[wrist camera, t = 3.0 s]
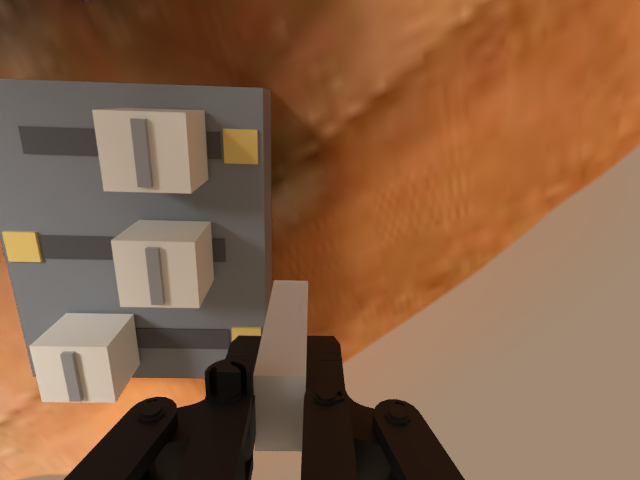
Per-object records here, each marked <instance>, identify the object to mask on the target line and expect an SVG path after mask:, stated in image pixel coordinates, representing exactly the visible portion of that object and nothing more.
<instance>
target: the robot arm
mask: <svg viewBox="0 0 640 480" xmlns="http://www.w3.org/2000/svg"><path fill="white" fill-rule="evenodd" d="M307 318H308V281H295V280H274V283H273V287H272V292H271V296H270V301H269V306H268V310H267V315H266V319H265V324H264V328H263V333H262V336H244V335H239V336H238V337H237V338H236V339H234V340H233V341H232V342H231V343H230V346H229V349H228V353H227V355H226V358H225V359H223V360H220V361H217V362H214V363H213V364H211V365H210V366H208V368H207V369H206V370H205V387H206V397H205V399H204V400H203V401H200V402H198V403H196V404H192V405H188V406H184V407H179V408H177V406H176V404H175V402H174V401H173V400H171V399H169V398H166V397H154V398H149V399H146V400H143V401H141V402H139V403H137V404H136V405H135V406H133V407H132V408H131V409H130V410H129V411H128V412H127V413H126V414H125V415H124V416H123V417H122V418H121V419H120V421H119V422H118V423H117V424H116V425H115V426H114V427H113V428H112V429H111V430H110V431H109V432H108V433H107V434H106V435H105V436H104V438H103V439H102V440H101V441H100V442H99V443H98V444H97V445H96V446H95V447H94V448H93V449H92V450H91V451H90V452H89V453H88V454H87V456H86V457H85V458H84V459H83V460H82V461H81V462H80V463H79V464H78V465H77V466H76V467H75V468H74V469H73V470H72V471H71V472H70V474H69V475H68V476H67V477H66V478H65V479H64V480H251V476H252V470H253V449H254V443H255V451H302V464H301V480H465V479H464V478H463V476H462V475H461V474H460V472H459V470H458V469H457V467H456V466H455V464H454V463H453V462H452V460H451V458H450V457H449V456H448V454H447V453H446V451H445V450H444V448H443V447H442V445H441V444H440V442H439V441H438V439H437V438H436V436H435V435H434V433H433V432H432V430H431V429H430V427H429V426H428V424H427V423H426V421H425V420H424V418H423V417H422V415H421V414H420V413H419V411H418V410H417V409H416V408H415V407H414V406H412V405H411V404H409V403H407V402H405V401H401V400H397V399H395V400H394V399H393V400H391V399H390V400H385V401H382V402H380V403H379V404H378V405H377V406H376V407H375V409H373V408H369V407H365V406H363V405H360V404H358V403H356V402H354V401H353V400H352V399H351V398H350V397H349V396H348V395H347V393H346V390H345V384H344V375H343V366H342V357H341V348H340V344H339V342H338V341H337V340H336V339H335V337H334V336H307Z"/></svg>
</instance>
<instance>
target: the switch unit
mask: <svg viewBox="0 0 640 480" xmlns="http://www.w3.org/2000/svg"><path fill="white" fill-rule="evenodd" d="M113 108H147V109H177V110H205V128H206V145H207V163H208V180H207V181H206V182H205V183H203V184H202V185H201V186H200V187H199V188H197V189H196V190H195V191H194V192H193V193H191V194H187V193H148V192H109V191H104V190H103V183H102V176H101V169H100V162H99V155H98V148H97V141H96V134H95V127H94V120H93V113H92V110H95V109H113ZM138 220H167V221H209V222H211V233H212V251H213V268H214V281H213V283H212V285H211V287H210V289H209V291H208V292H207V294H206V296H205V298H204V300H203V302H202V304H201V306H200V308H155V307H120V302H119V295H118V288H117V281H116V274H115V267H114V260H113V253H112V246H111V240H112V239H113V238H115V237H116V236H117V235H119V234H120V233H122V232H123V231H124V230H126V229H127V228H128V227H130V226H131V225H133V224H134V223H135V222H137V221H138ZM0 237H1V242H2V246H3V250H4V254H5V259H6V263H7V267H8V271H9V275H10V280H11V284H12V288H13V292H14V297H15V301H16V305H17V309H18V314H19V318H20V322H21V326H22V331H23V335H24V339H25V343H26V348H27V352H28V356H29V360H30V364H31V369H32V373H33V377H36V373H35V369H34V365H33V360H32V356H31V352H30V347H29V346H30V345H31V344H32V343H33V342H34V341H36V340H37V339H38V338H39V337H40V336H41V335H42V334H43V333H44V332H46V331H47V330H48V329H49V328H50V327H51V326H52V325H53V324H55V323H56V322H57V321H58V320H59V319H60V318H61V317H62V316H64V315H65V314H66V313H100V314H134V322H135V330H136V337H137V345H138V352H139V360H140V365H139V366H138V368H137V370H136V371H135V373H134V374H133V376H132V377H136V378H205V370H206V369H207V368H208V366H210V365H211V364H213V363H214V362H217V361H220V360H223V359H225V358H226V355H227V353H228V349H229V346H230V343H231V342H232V341H233V340H234V339H236V338H237V337H238V336H239V335H244V336H262V333H263V328H264V324H265V319H266V315H267V310H268V306H269V301H270V296H271V292H272V160H271V90H270V89H266V88H253V87H225V86H197V85H169V84H140V83H112V82H84V81H56V80H28V79H0Z"/></svg>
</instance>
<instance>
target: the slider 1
mask: <svg viewBox="0 0 640 480" xmlns="http://www.w3.org/2000/svg"><path fill="white" fill-rule="evenodd" d="M29 347H30V352H31V356H32V360H33V365H34V369H35V373H36V377H37V382H38V386H39V390H40V395H41V399H42V402H115V403H116V401H117V400H118V398H119V396H120V395H121V393H122V392H123V390H124V389H125V387H126V385H127V384H128V382H129V381H130V379H131V377H132V376H133V374H134V373H135V371H136V370H137V368H138V366H139V365H140V360H139V352H138V345H137V337H136V330H135V322H134V314H100V313H66V314H65V315H64V316H62V317H61V318H60V319H59V320H58V321H57V322H56V323H55V324H53V325H52V326H51V327H50V328H49V329H48V330H47V331H46V332H44V333H43V334H42V335H41V336H40V337H39V338H38V339H37V340H36V341H34V342H33V343H32V344H31V345H30V346H29Z"/></svg>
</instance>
